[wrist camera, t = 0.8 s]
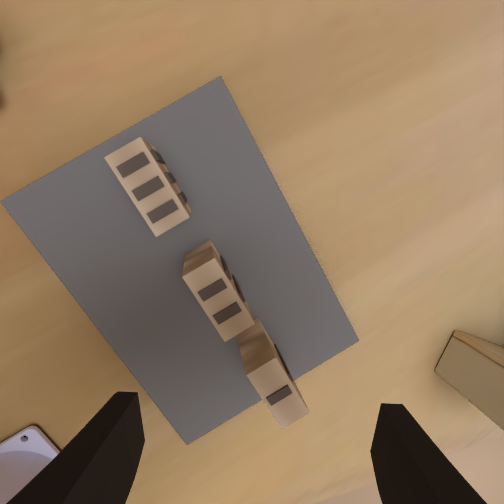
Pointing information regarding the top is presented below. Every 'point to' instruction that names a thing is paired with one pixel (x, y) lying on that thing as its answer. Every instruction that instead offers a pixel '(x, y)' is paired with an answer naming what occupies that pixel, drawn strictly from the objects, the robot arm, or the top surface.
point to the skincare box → (476, 373)
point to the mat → (173, 255)
